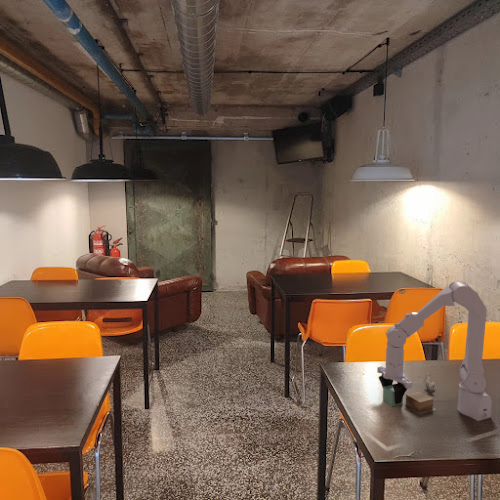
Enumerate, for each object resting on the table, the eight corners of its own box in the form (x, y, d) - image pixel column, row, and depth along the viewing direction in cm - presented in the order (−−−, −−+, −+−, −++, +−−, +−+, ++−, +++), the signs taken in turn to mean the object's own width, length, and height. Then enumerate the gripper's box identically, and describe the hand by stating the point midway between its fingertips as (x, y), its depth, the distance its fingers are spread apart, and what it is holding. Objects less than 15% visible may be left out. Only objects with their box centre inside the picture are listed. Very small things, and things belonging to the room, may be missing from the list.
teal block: (402, 403, 145) (403, 389, 145) (392, 406, 144) (392, 392, 143) (393, 398, 150) (393, 384, 149) (382, 400, 148) (383, 386, 147)
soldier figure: (441, 386, 163) (447, 390, 152) (431, 394, 164) (436, 398, 152) (426, 370, 166) (431, 372, 154) (416, 377, 166) (420, 380, 155)
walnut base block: (432, 408, 142) (433, 398, 142) (419, 412, 140) (419, 402, 139) (419, 400, 148) (419, 391, 147) (405, 404, 145) (406, 394, 145)
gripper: (371, 356, 150) (369, 393, 152) (400, 371, 137) (398, 411, 138) (386, 353, 153) (385, 389, 154) (417, 368, 140) (415, 407, 141)
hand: (392, 399), depth 147 cm, fingers closed on teal block, 5 cm apart
